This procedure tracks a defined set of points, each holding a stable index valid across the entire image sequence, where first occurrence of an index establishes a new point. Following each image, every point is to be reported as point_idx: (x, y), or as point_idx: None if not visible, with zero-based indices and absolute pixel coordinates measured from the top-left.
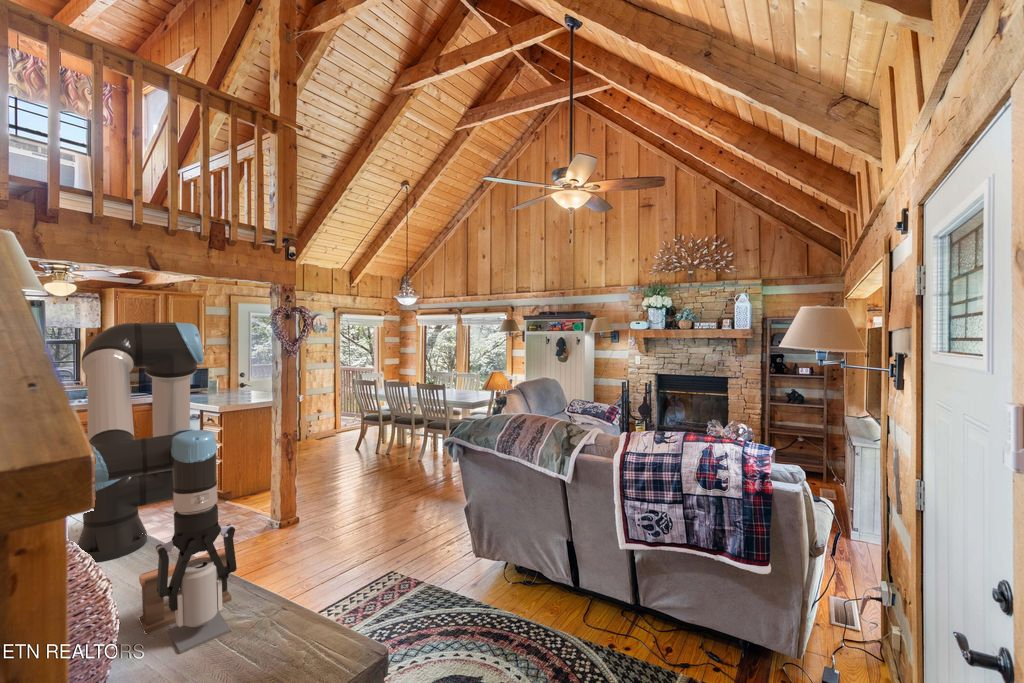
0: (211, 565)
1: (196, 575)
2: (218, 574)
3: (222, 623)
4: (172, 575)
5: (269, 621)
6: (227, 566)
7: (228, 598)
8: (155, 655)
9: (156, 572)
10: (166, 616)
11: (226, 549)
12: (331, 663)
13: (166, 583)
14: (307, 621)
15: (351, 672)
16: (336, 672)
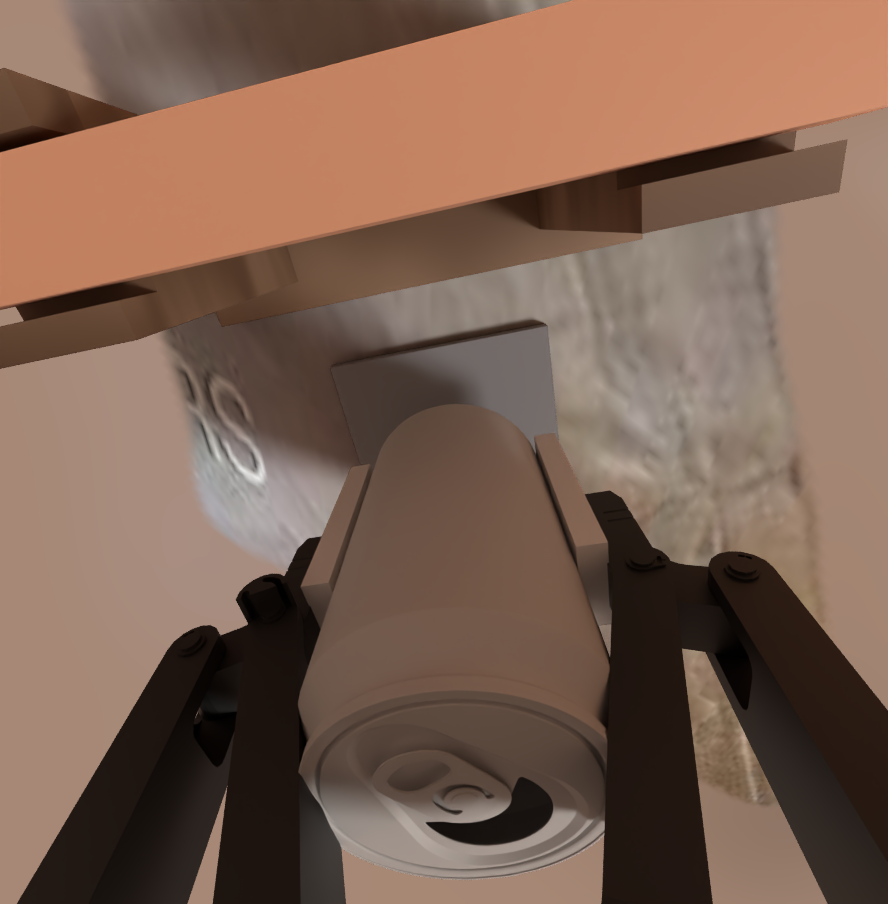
0: (577, 841)
1: (440, 831)
2: (612, 580)
3: None
4: (236, 722)
5: (703, 526)
6: (710, 622)
7: (621, 240)
8: (305, 496)
9: (26, 236)
10: (303, 251)
11: (841, 873)
12: (741, 767)
13: (217, 791)
14: (806, 598)
15: (757, 803)
16: (732, 790)
